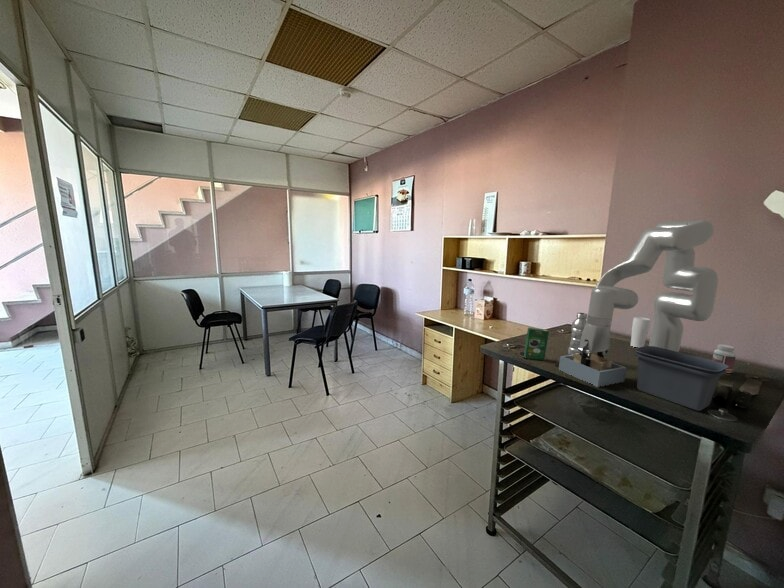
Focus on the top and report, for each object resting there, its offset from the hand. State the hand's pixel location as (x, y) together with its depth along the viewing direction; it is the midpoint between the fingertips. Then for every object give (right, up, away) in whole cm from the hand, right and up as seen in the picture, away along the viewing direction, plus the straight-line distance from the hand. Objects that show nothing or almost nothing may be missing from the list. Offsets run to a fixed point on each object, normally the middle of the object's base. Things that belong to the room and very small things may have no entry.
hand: (591, 367), depth 118 cm
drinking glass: (+48, +1, +39) cm, 62 cm away
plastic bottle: (+5, -1, +19) cm, 20 cm away
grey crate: (0, -3, +1) cm, 3 cm away
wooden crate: (0, -1, 0) cm, 1 cm away
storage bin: (+18, -7, -14) cm, 24 cm away
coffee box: (-14, 0, +16) cm, 22 cm away
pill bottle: (+61, -5, +11) cm, 62 cm away
